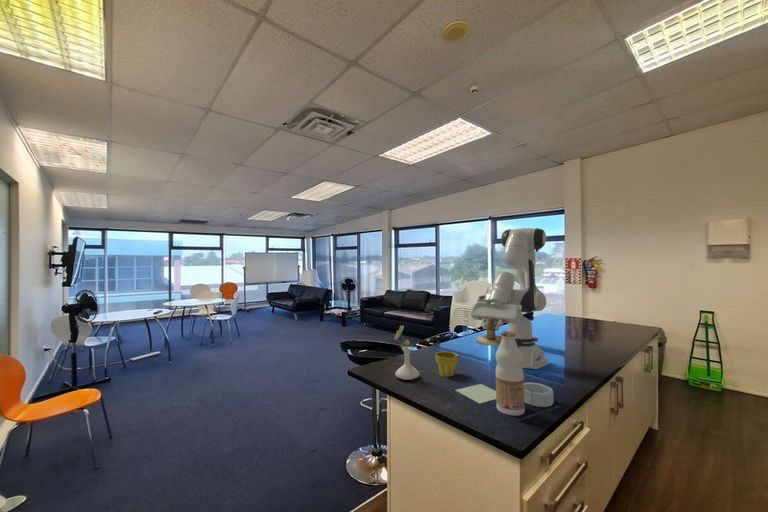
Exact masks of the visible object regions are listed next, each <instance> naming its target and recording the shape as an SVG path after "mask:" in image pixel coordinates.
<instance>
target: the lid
mask: <svg viewBox="0 0 768 512" xmlns="http://www.w3.org/2000/svg"><path fill="white" fill-rule="evenodd" d="M485 323H486V329H485V330H486V335H480V336H477V337H476V338H475V339H476V341H475V342H476V343H477V344H479V345H481V346H482V345H483V346H488V347H489V346H491V347H496V346H498V347H499V346H500V343H501V340H502V337H501V335H497V334H496V330H494V325H496V322H495V320H494V318H486V322H485Z"/></svg>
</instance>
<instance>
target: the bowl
mask: <svg viewBox="0 0 768 512" xmlns="http://www.w3.org/2000/svg"><path fill="white" fill-rule="evenodd" d="M554 400H555V399H554V390H553V388H552V387H550V386H547V385H545V384H542V383H538V382H537V383H536V382H524V401H525V404H527V405H530V406H534V407H540V408H547V407H551V406H553V404H554Z"/></svg>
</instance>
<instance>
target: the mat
mask: <svg viewBox="0 0 768 512" xmlns="http://www.w3.org/2000/svg"><path fill="white" fill-rule="evenodd" d="M455 392H457V393H460V394H461V395H463V396H465V397H467V398H469V399H471V400H472V401H474V402H475V403H478V404H480V405H481V404H483V403H487V402H490V401H493V400H496V389H492V388H491V387H489V386H486V385H484V384H481V383H479V384H474V385H471V386H466V387H462V388H457V389H455Z"/></svg>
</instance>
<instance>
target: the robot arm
mask: <svg viewBox="0 0 768 512" xmlns="http://www.w3.org/2000/svg"><path fill="white" fill-rule="evenodd" d="M500 241H501V245H502V246H503V247H504V249H503V255H502V256H503V257H502V258H503V261H504V263H505V264H506V265H507V266H508V267H510V268H511V270H512V271H511V272H508V271H499V272H498V273H496V276H495V278H494V281H493V282H492V286H491V290H490V292H489V293H487V294H483V295H479V296H477V298H476V301H475V302H474V304H473V306H472V308H471V309H470V310H471V311H470V315H471V316H470V317H471V318H472V319H473V320H475V321H476V320H477V321H482V324H483V325H482V329H483V330H486V318H494V320H495V323H497V324H495V325H494V330H495V332H496V331H497V332H498V331H499V329H500V328H502V326H503V325H504V323H505V324H508V331H512V332H515V334H516V336H515V341H516V344H517V346H518V349H519V351H520V352H521V354H522V357H523V361H522V369H531V370H532V369H533V370H539V369H541V368H543V367H546V366H548V365H550V364H551V361H550V360H548V359H546V356H545V352H544V350H543V349H541V348H540V347H539V346H537V345H536V342H539V338H538V337H533V323H532V322H531V320H530V319H529V318H527V317H525V316H524V315H523V314H522V313H527V314H530V313H533V312H534V313H535V312H542V311H543V310H545V308H546V307H547V297H546V295H545V294H544V292H542V291H541V290H540V289H539V287H537V284H536V275H535V273H536V272H535V269H536V253H537V252H538V251H540V250H541V249H542V248H544V246H545V245H546V242H547V235H546V231H545V230H544V229H542V228H529V227H528V228H527V227H522V228H514V229H511V228H510V229H505V230H504V231H503V232H502V234H501V237H500ZM515 283H517V284H518V285H520V287H519V289H516V288H515V289H514V287H515Z"/></svg>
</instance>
